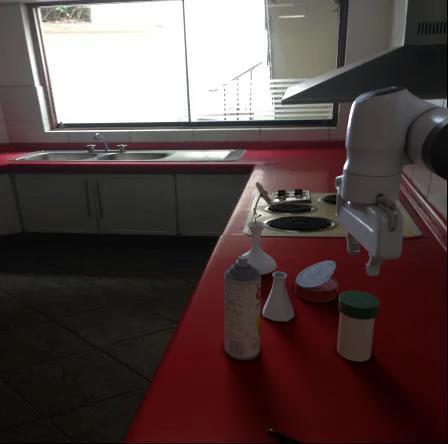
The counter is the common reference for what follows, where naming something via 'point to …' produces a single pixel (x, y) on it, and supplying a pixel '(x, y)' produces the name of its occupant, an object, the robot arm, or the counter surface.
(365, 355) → the white jar
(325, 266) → the canned food
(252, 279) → the aerosol can
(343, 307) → the lid
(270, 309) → the flask
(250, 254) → the flower in vase
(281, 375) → the counter surface
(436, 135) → the robot arm
